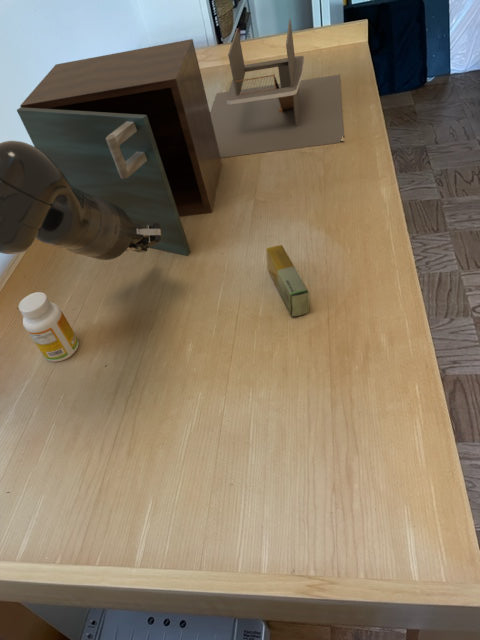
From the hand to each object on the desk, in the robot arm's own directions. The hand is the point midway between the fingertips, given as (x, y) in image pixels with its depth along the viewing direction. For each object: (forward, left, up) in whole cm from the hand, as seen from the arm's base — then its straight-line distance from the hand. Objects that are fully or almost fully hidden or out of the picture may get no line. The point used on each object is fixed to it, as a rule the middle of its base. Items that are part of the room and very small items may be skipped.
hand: (142, 245), depth 85 cm
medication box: (+23, -7, -6) cm, 25 cm away
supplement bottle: (-11, -16, -6) cm, 20 cm away
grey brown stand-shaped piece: (+18, +54, -6) cm, 57 cm away
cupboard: (-5, +25, -6) cm, 26 cm away
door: (-7, +7, -6) cm, 12 cm away
